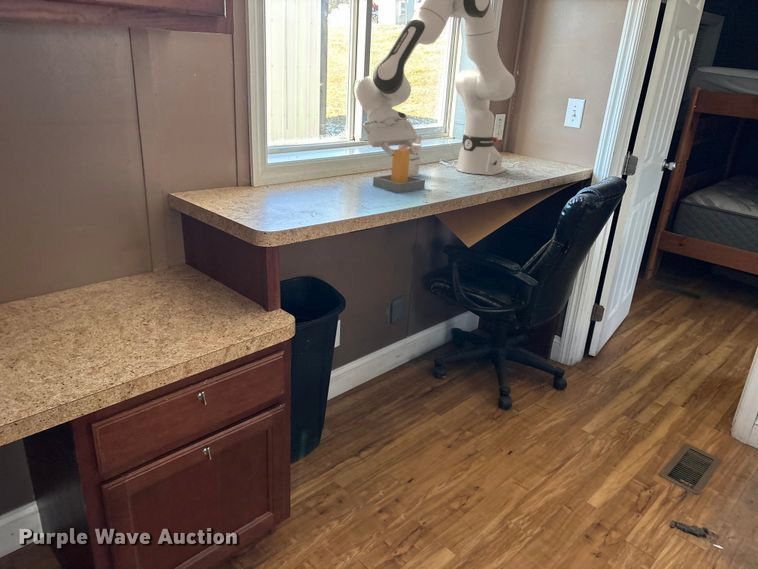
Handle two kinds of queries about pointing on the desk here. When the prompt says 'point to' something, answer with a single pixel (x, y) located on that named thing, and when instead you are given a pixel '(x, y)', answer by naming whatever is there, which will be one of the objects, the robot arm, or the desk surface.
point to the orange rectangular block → (400, 166)
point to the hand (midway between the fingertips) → (402, 154)
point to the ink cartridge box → (413, 157)
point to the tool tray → (398, 184)
